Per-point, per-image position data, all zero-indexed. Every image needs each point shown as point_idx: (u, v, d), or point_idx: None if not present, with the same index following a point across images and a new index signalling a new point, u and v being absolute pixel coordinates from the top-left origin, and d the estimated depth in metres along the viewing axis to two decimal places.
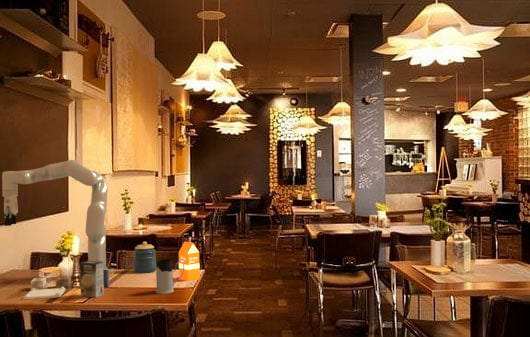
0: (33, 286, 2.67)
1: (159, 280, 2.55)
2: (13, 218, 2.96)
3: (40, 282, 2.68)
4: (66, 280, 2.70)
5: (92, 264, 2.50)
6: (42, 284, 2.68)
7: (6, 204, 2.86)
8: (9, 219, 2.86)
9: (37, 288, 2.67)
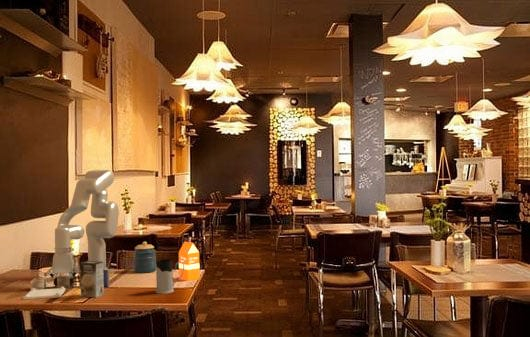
0: (33, 286, 2.67)
1: (159, 280, 2.55)
2: None
3: (40, 282, 2.67)
4: (67, 279, 2.71)
5: (92, 264, 2.50)
6: (42, 284, 2.68)
7: (72, 261, 2.74)
8: None
9: (37, 288, 2.67)
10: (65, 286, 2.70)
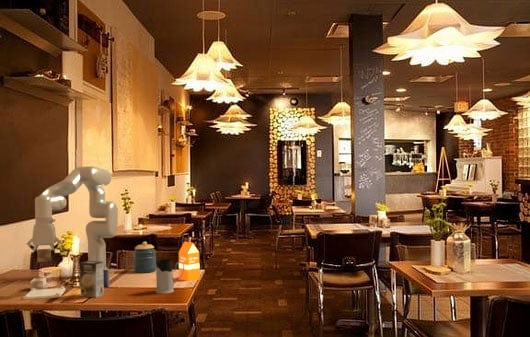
0: (33, 286, 2.67)
1: (159, 280, 2.55)
2: None
3: (40, 282, 2.67)
4: (48, 252, 2.55)
5: (92, 264, 2.50)
6: (42, 284, 2.68)
7: (54, 233, 2.58)
8: None
9: (37, 288, 2.67)
10: (46, 258, 2.54)
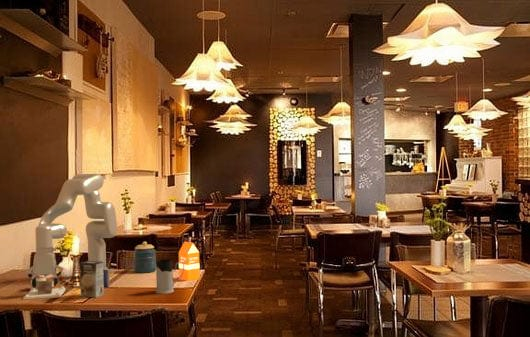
0: None
1: (159, 280, 2.55)
2: (35, 280, 2.57)
3: None
4: (48, 284, 2.55)
5: (92, 264, 2.50)
6: None
7: (54, 262, 2.58)
8: None
9: (37, 288, 2.67)
10: (46, 291, 2.54)
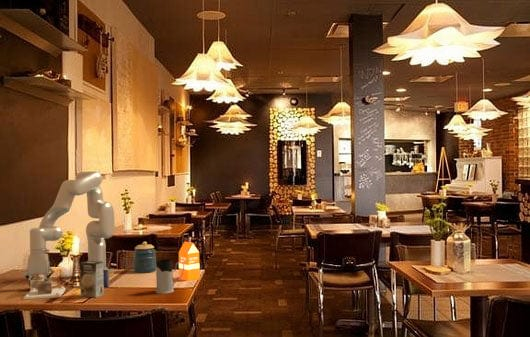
0: (32, 286, 2.66)
1: (159, 280, 2.55)
2: None
3: None
4: (48, 284, 2.55)
5: (92, 264, 2.50)
6: None
7: (48, 262, 2.71)
8: None
9: (37, 288, 2.67)
10: (46, 291, 2.54)
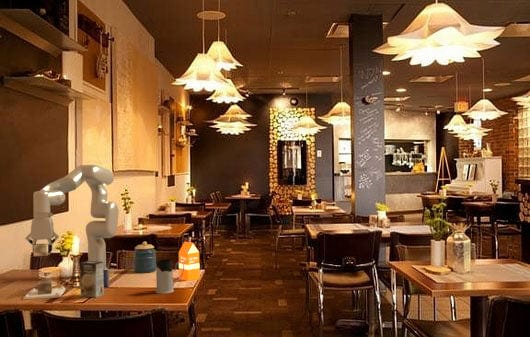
0: (36, 250, 2.56)
1: (159, 280, 2.55)
2: None
3: (43, 247, 2.56)
4: (48, 284, 2.55)
5: (92, 264, 2.50)
6: (45, 249, 2.57)
7: (52, 227, 2.61)
8: None
9: (40, 253, 2.56)
10: (46, 291, 2.54)
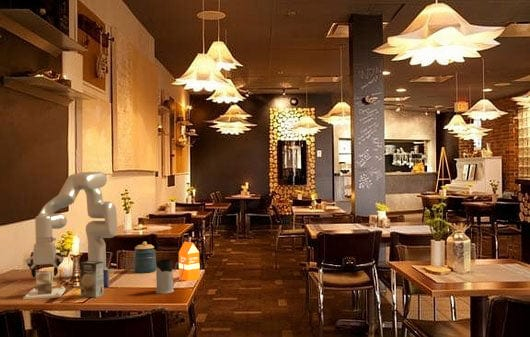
0: (38, 279, 2.53)
1: (159, 280, 2.55)
2: (35, 270, 2.57)
3: (46, 275, 2.53)
4: (48, 284, 2.55)
5: (92, 264, 2.50)
6: (48, 277, 2.54)
7: (54, 252, 2.58)
8: None
9: (43, 281, 2.53)
10: (46, 291, 2.54)
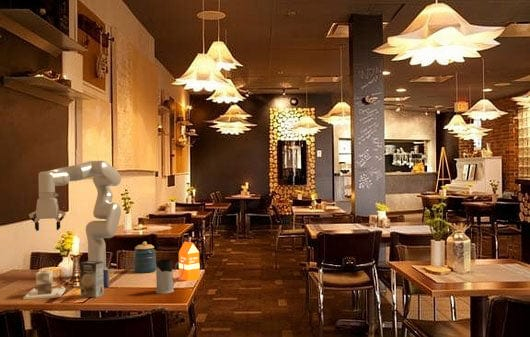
0: (38, 279, 2.53)
1: (159, 280, 2.55)
2: (38, 224, 2.66)
3: (46, 275, 2.53)
4: (48, 284, 2.55)
5: (92, 264, 2.50)
6: (48, 277, 2.54)
7: (57, 207, 2.67)
8: None
9: (43, 281, 2.53)
10: (46, 291, 2.54)
